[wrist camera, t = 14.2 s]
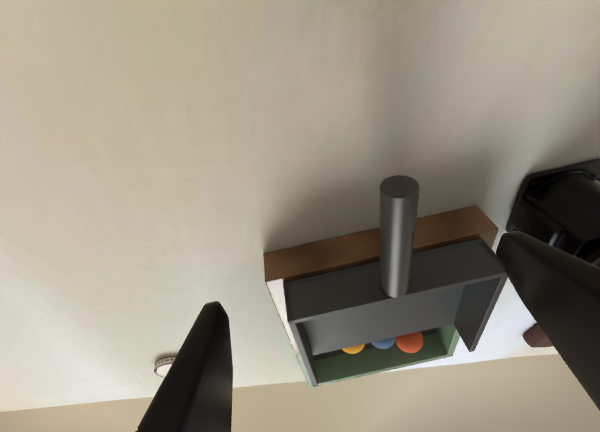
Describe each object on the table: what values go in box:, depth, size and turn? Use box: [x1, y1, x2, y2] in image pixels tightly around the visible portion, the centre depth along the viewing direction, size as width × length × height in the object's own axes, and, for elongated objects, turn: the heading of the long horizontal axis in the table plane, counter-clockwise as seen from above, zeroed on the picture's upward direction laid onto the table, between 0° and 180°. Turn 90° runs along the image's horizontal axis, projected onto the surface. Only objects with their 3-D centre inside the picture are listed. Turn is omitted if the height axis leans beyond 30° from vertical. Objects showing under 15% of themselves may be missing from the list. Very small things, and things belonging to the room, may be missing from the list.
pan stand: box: [263, 206, 498, 354], centre depth 29 cm, size 19×13×3 cm
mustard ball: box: [342, 344, 365, 354], centre depth 34 cm, size 3×3×3 cm
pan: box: [283, 175, 508, 387], centre depth 23 cm, size 22×16×4 cm
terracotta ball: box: [395, 331, 423, 353], centre depth 36 cm, size 3×3×3 cm
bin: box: [296, 324, 460, 388], centre depth 36 cm, size 19×10×3 cm, turn 100°
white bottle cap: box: [154, 357, 176, 377], centre depth 35 cm, size 4×4×1 cm
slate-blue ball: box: [371, 337, 396, 349], centre depth 34 cm, size 3×3×3 cm
